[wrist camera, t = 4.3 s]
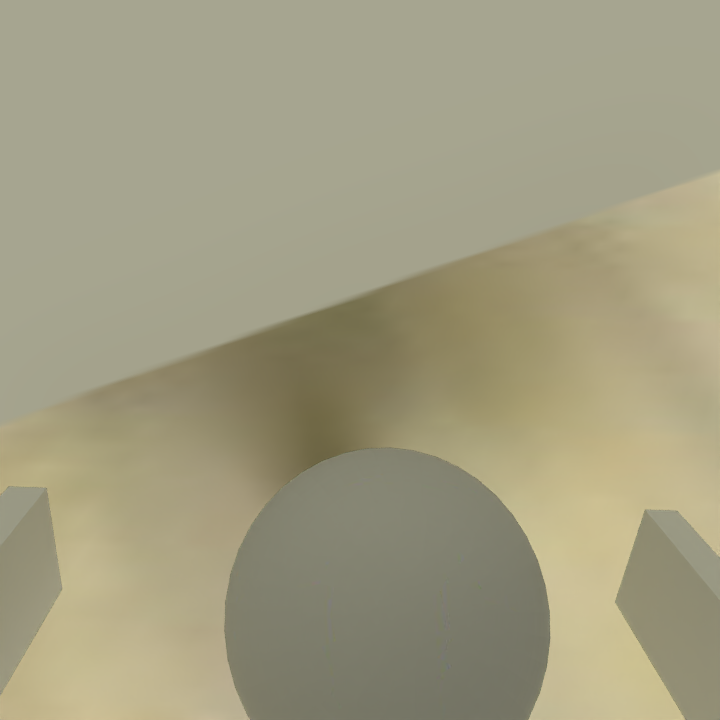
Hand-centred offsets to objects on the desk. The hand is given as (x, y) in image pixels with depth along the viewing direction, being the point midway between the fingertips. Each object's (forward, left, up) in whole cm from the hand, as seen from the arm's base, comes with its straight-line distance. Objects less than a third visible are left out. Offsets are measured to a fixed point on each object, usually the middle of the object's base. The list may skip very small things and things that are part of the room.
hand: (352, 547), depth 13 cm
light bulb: (+1, +1, -5) cm, 6 cm away
